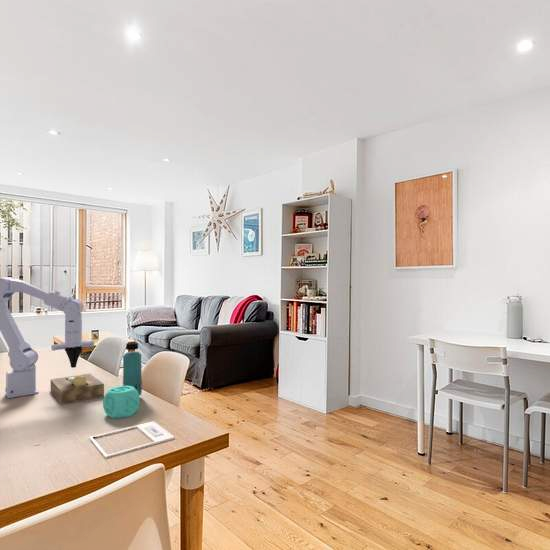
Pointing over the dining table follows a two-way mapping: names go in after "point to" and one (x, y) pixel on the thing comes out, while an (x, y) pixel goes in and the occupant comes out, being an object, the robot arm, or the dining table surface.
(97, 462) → the dining table surface
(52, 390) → the peg block
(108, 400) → the decorative dice
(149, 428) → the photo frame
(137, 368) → the beverage bottle
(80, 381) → the mustard peg
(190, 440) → the dining table surface
